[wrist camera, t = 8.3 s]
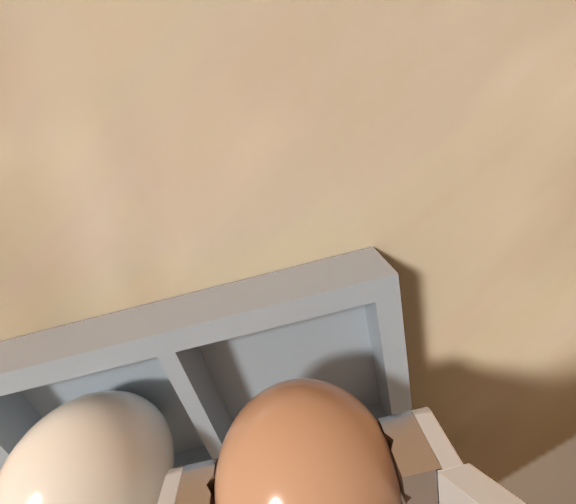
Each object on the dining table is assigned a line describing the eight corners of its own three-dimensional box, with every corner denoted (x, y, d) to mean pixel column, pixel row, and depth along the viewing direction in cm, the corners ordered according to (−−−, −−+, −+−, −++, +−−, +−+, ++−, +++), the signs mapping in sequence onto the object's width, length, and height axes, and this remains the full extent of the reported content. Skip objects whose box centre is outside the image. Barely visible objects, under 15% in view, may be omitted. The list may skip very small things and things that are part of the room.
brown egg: (355, 328, 10) (437, 511, 5) (373, 429, 12) (445, 628, 7) (205, 364, 10) (153, 576, 5) (249, 458, 12) (239, 672, 7)
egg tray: (373, 246, 11) (398, 273, 9) (405, 486, 17) (425, 535, 15) (-19, 346, 11) (-80, 394, 9) (149, 547, 17) (134, 603, 15)
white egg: (159, 346, 11) (88, 499, 7) (205, 433, 13) (174, 597, 9) (32, 378, 11) (-124, 550, 7) (97, 459, 13) (9, 636, 9)
